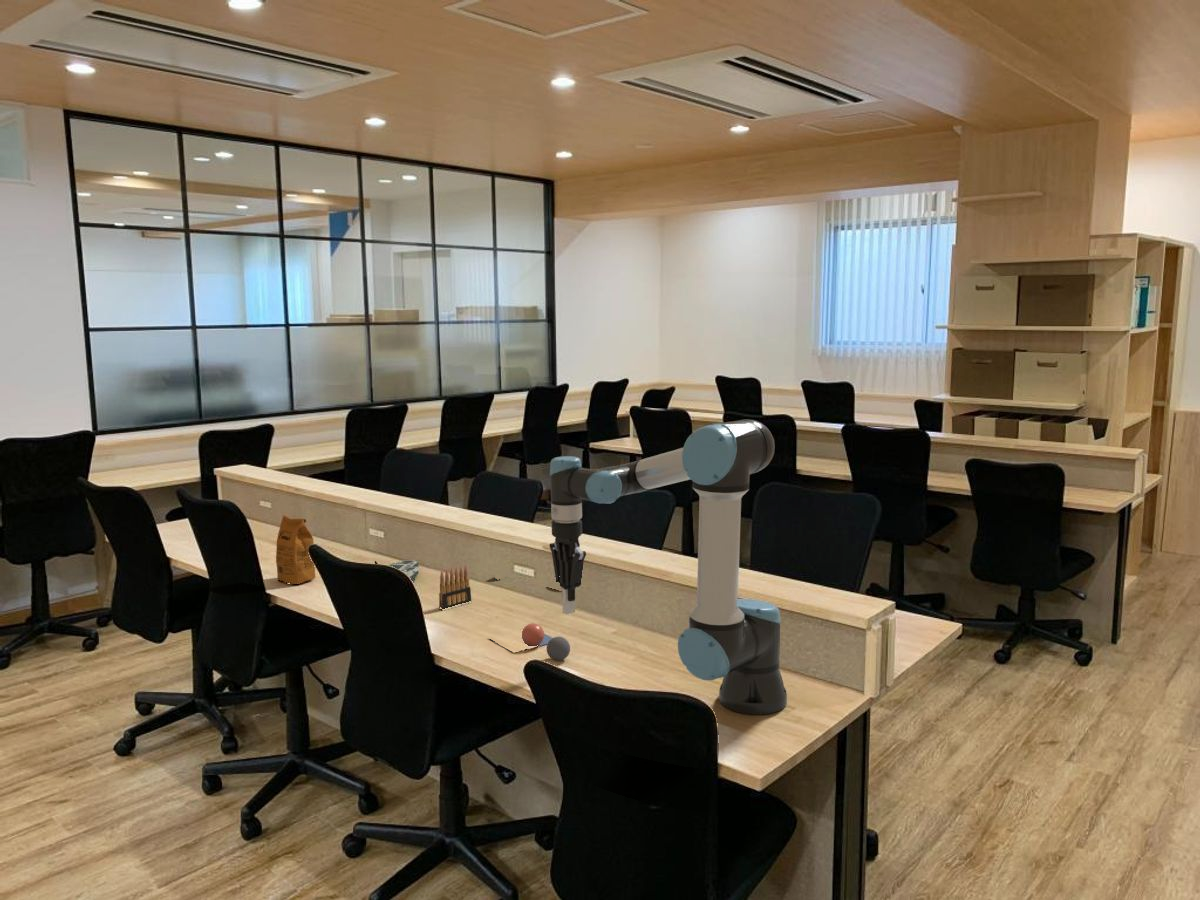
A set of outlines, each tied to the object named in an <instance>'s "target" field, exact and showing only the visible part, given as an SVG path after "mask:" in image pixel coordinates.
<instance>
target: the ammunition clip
mask: <svg viewBox="0 0 1200 900" xmlns="http://www.w3.org/2000/svg"><path fill="white" fill-rule="evenodd" d="M440 571H441V572H440V578H439V593H438V594H439V595H438V598H439V604H438V605H439V608H440V607H441V608H442V609H445V608H448V607H452V606H455V605H458V604H462V603H466V602H469V601H471V602H472V592H471V591H472V590H471V586H470V577H469V570H468V566H467V564H465V566H464V568H463V566H462V565H461V566H460V567H459V569H458V567H455V570H454V569H453V568H451V569H450V571H448V569H446V570H445V574H444V571H443V570H440ZM439 608H438V609H439Z"/></svg>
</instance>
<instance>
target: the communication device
mask: <svg viewBox="0 0 1200 900" xmlns="http://www.w3.org/2000/svg"><path fill="white" fill-rule="evenodd" d="M375 564H378V562H377V561H376V560H375V561H374V565H375ZM378 565H379V564H378ZM388 565H389V566H393V567H395V568H397V569H399V570H401V571H403V572H404V573H406V574H407V575H408V576H409V577H410V578H411V580H412V581H413V583H414V582H415V581H416V577H417V576H418V575H419V570H420V569H419V562H418V561H416V560H413V559H412V560H410V559H409V560H408V559H407V560H401V561H397V562H394V563H393V562H392V563H389V564H388ZM414 580H415V581H414Z"/></svg>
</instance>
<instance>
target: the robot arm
mask: <svg viewBox="0 0 1200 900" xmlns="http://www.w3.org/2000/svg"><path fill="white" fill-rule="evenodd" d="M683 444H684V445H683V447H680V448H677V449H675V450H671V451H667V452H664V453H659V454H657V455H653V456H650V457H646V458H643V459H639V460H636V461H631V462H628V463H623V464H619V465H613V466H607V467H602V468H596V469H594V468H585V467H582V466H583V465H582V461H581V459H580V458H579V457H577V456H571V455H568V456H565V455H564V456H557V457H553V458H552V459H551V460H550V468H549V470H550V471H549V479H550V484H549V485H550V504H551V509H550V512H551V515H550V516H551V519H552V521H551V524H550V525H551V535H552V537H554V542H551V543H549V549H550V552H551V557H552V561H553V562H552V564H553V570H554V577H556V582H559V583H560V587H561V598H562V599H561V601H562V603H561V604H562V614H564V615H567V614H574V613H575V612H576V604H575V603H576V589H577V588H579V586H580V585H581V578H582V570H583V565H584V562H585V559H586V557H587V552H586V551H585V550H581V548H580V547H581V546H580V541H579V537H581V536H582V535H583V520H581V519H582V518H583V506H582V505H583V503H582V502H583V501H589V502H593V503H597V504H601V505H602V504H607V505H610V504H613V503H615V502H616V500H618V499H619V498H620V497H623V496H628V495H632V494H638V493H639V494H640V493H643V492H646V491H649V490H652V489H657V488H661V487H664V486H668V485H673V484H677V483H680V482H681V483H682V482H684V481H689V480H691V481H692V489H693V490H694V492H695V493H697V494H698V496H699V499H698V500H699V501H698V506H699V511H698V545H697V580H696V581H697V587H696V605H695V606H693V608H691V609H690V610H689V616H688V617H689V619H688V628H686V629H684V631H683V632H682V633H681V634H680V635H679V637H678V640H677V652H678V656H679V659H680V661H681V662H682V664H683V665H684V666H685V668H686V670H687V671H688V672H689V673H690V674H692V675H693V676H694V677H695V678H697V679H699V680H702V681H708V682H709V681H714V680H717V679H720V678H721V679H722V682H721V685H720V686H719V690H718V693H719V694H718V697H719V698H718V699H719V700H718V701H719V702H720V704H721V705H722V706H723V707H724V708H726V709H728V710H730V711H731V712H736V713H739V714H746V715H755V716H758V715H759V716H760V715H761V716H762V715H770V714H774V713H777V711H778V712H780V711H781V709H782V710H783V709H784V708H786V706H787V703H788V702H787V701H788V692H787V690H786V687H785V685H784V681H783V677H782V676H783V675H782V674H781V670H780V655H781V654H780V649H781V648H780V647H781V645H780V644H781V643H780V642H781V624H782V621H781V617H780V614H781V613H780V609H779V608H778V607H777V605H775V604H773V603H770V602H767V601H764V600H760V599H759V600H758V599H751V598H739V576H740V575H739V574H740V572H739V571H740V549H741V548H740V547H741V546H740V545H741V544H740V543H741V517H742V515H741V512H742V498H743V496H744V495H746V493H747V492H748V491H750V475H753V474H755V473H759V472H760V471H762V470H763V469H765V468H766V467H767V466H768V465H769V464H770V463H771V461H772V459H773V458H774V455H775V448H776V447H775V446H776V445H775V438H774V436H773V435H772V433H771V431H770V430H769V428H768V427H767V426H766V425H764V423H762V422H760V421H758V420H754V419H745V418H744V419H738V420H734V421H727V422H719V423H711V424H708V425H705V426H702V427H698V428H697V429H696V430H694V431H693V432H692V433H691V434H690V435H689V436H688V437H687V439H686V441H685V442H684V443H683ZM582 500H583V501H582ZM559 576H560V577H559ZM576 587H577V588H576ZM580 587H581V586H580Z"/></svg>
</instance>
